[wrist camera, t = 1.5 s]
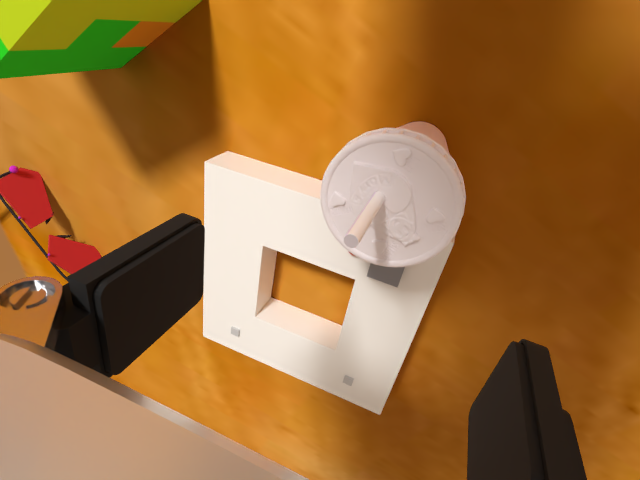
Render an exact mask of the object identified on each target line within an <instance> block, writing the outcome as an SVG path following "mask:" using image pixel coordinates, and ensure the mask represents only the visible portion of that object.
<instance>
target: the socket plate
mask: <svg viewBox="0 0 640 480" xmlns="http://www.w3.org/2000/svg"><path fill="white" fill-rule="evenodd" d="M321 184H322V180H318V179H315V178H312V177H309V176H306V175H303V174H299V173H296V172H293V171H290V170H287V169H284V168H280V167H277V166H274V165H271V164H268V163H264V162H261V161H258V160H255V159H252V158H249V157H245V156H242V155H239V154H236V153H233V152H230V151H227V152H224V153H222V154H220V155H218V156H216V157H213V158H211V159H209V160H207V161H205V184H204V228H205V247H204V298H203V336H204V337H206V338H208V339H211V340H213V341H215V342H217V343H220V344H222V345H224V346H226V347H229V348H231V349H233V350H235V351H238V352H240V353H242V354H244V355H246V356H249V357H251V358H253V359H255V360H258V361H260V362H262V363H264V364H267V365H269V366H271V367H273V368H276V369H278V370H280V371H282V372H285V373H287V374H289V375H291V376H294V377H296V378H298V379H300V380H302V381H305V382H307V383H309V384H311V385H314V386H316V387H318V388H320V389H323V390H325V391H327V392H329V393H332V394H334V395H336V396H338V397H341V398H343V399H345V400H347V401H349V402H352V403H354V404H356V405H358V406H361V407H363V408H365V409H367V410H370V411H372V412H374V413H376V414H379V415H380V414H381V412H382V409H383V407H384V405H385V403H386V400H387V398H388V396H389V393H390V391H391V389H392V386H393V384H394V382H395V379H396V377H397V375H398V372H399V370H400V368H401V365H402V363H403V361H404V359H405V356H406V354H407V352H408V349H409V347H410V345H411V342H412V340H413V338H414V335H415V333H416V331H417V328H418V326H419V324H420V321H421V319H422V317H423V315H424V312H425V310H426V308H427V305H428V303H429V301H430V298H431V296H432V294H433V291H434V289H435V287H436V284H437V282H438V280H439V277H440V275H441V273H442V271H443V268H444V266H445V264H446V261H447V259H448V257H449V254H450V252H451V250H452V247H453V245H454V242H455V236H454V238H453V239H452V241H451V242H450V243H449V244H448V245H447V246H446V247H445V249H444V250H442V251H441V252H440V253H439V254H437V255H436V256H434V257H433V258H431V259H429V260H427V261H425V262H422V263H420V264H416V265H413V266H407V267H385V266H379V265H375V264H372V263H369V262H367V261H364V260H362V259H360V258H358V257H357V256H355V255H353V254H352V253H350V252H349V251H348V250H346V249H345V248H344V247H343V246H342V245H341V244H340V243H339V242H338V241H337V240H336V238H335V237H334V236H333V234H332V233H331V231H330V230H329V228H328V226H327V224H326V222H325V219H324V216H323V213H322V208H321V200H320V191H321ZM277 251H279V252H282V253H284V254H287V255H290V256H292V257H295V258H298V259H300V260H303V261H306V262H309V263H311V264H314V265H317V266H319V267H322V268H325V269H327V270H330V271H333V272H336V273H338V274H341V275H344V276H346V277H349V278H352V279H355V283H354V286H353V290H352V293H351V297H350V301H349V304H348V308H347V311H346V315H345V318H344V322H343V325H339V324H337V323H334V322H332V321H329V320H327V319H324V318H322V317H319V316H317V315H314V314H312V313H309V312H307V311H304V310H302V309H299V308H297V307H294V306H292V305H289V304H287V303H284V302H282V301H279V300H277V299H274V298H272V297H271V293H272V286H273V278H274V271H275V264H276V256H277Z"/></svg>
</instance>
